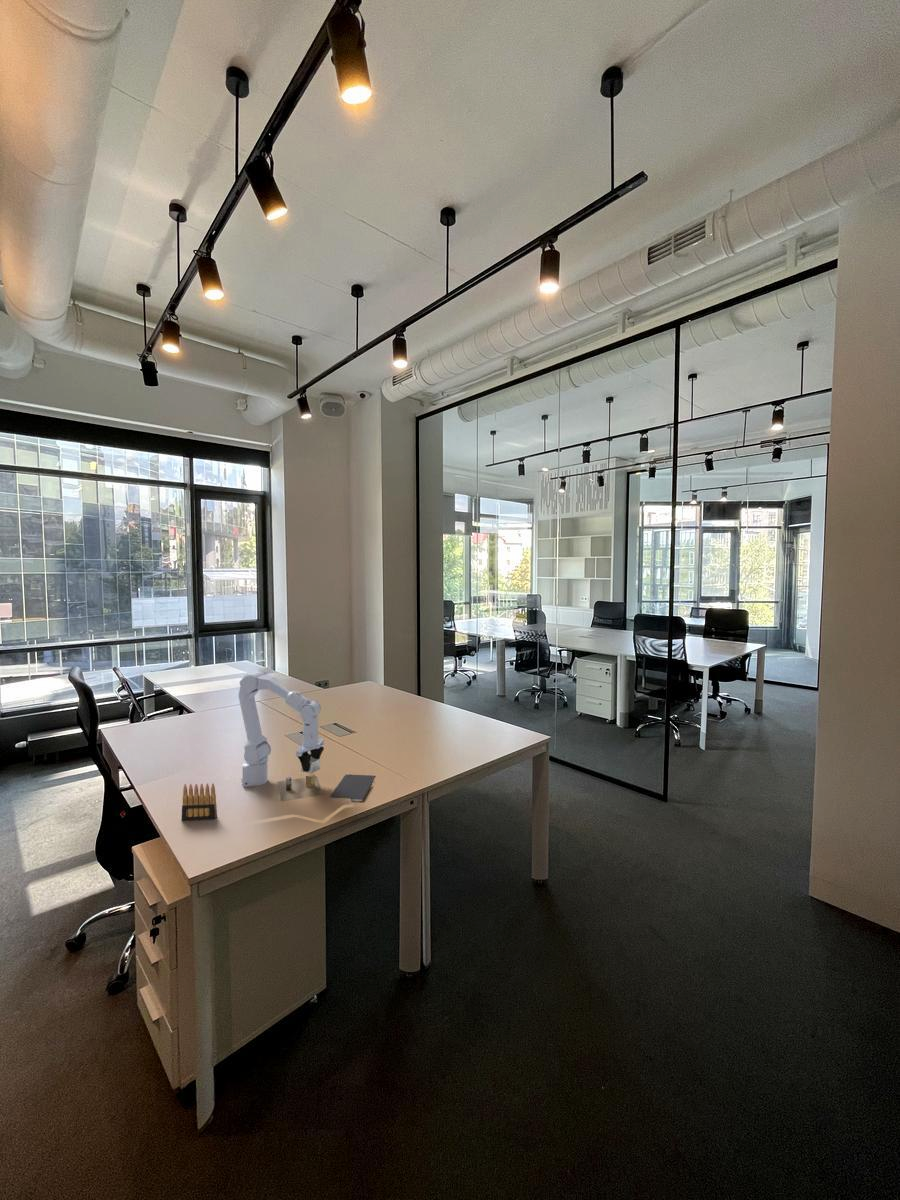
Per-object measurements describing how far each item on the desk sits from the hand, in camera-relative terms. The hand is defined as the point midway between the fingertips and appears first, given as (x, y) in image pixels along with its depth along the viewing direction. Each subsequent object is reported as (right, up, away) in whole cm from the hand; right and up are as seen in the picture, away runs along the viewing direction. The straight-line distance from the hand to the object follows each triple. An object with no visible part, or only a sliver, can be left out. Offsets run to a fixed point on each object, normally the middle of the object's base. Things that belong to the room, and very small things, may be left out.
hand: (310, 768), depth 186 cm
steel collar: (0, -1, 0) cm, 1 cm away
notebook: (+16, -9, +1) cm, 19 cm away
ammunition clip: (-30, -9, -24) cm, 40 cm away
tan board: (-4, -8, -1) cm, 9 cm away
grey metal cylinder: (-7, -7, -3) cm, 11 cm away
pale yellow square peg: (0, -7, 0) cm, 7 cm away
